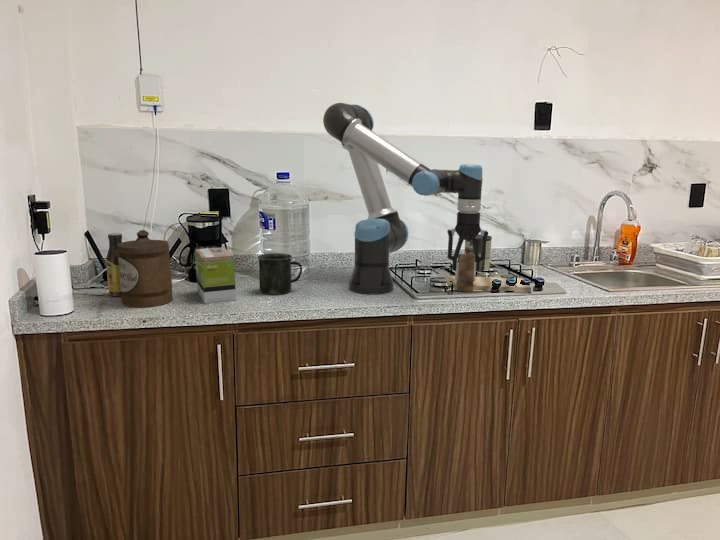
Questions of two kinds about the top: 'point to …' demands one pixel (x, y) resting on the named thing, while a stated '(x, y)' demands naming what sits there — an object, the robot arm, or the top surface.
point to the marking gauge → (465, 272)
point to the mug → (276, 273)
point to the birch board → (486, 284)
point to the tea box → (215, 274)
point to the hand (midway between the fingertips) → (464, 279)
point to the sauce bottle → (113, 264)
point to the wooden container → (145, 272)
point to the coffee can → (469, 250)
